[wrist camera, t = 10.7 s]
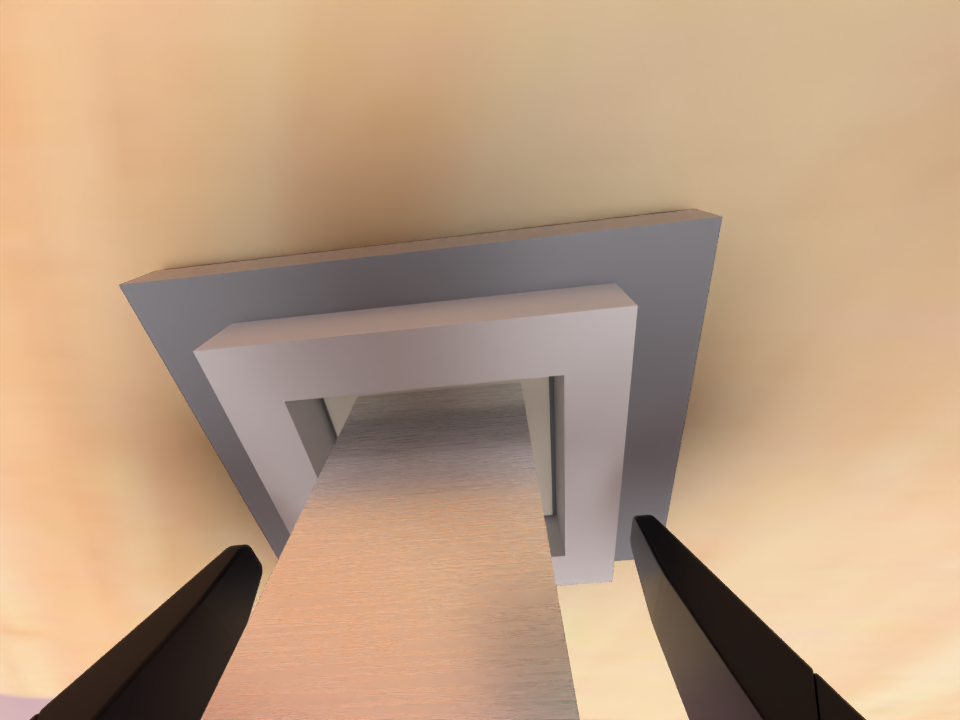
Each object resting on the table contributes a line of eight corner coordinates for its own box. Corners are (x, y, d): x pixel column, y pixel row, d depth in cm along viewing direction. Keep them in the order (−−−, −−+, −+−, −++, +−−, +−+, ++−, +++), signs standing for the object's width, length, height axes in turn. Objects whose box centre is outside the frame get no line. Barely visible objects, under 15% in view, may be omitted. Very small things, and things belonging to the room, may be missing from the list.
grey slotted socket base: (695, 209, 10) (767, 229, 7) (647, 529, 15) (677, 599, 13) (155, 271, 10) (58, 308, 8) (304, 554, 16) (274, 625, 14)
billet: (520, 382, 10) (606, 864, 3) (527, 498, 13) (588, 938, 6) (357, 397, 11) (123, 877, 4) (392, 508, 13) (287, 945, 6)
